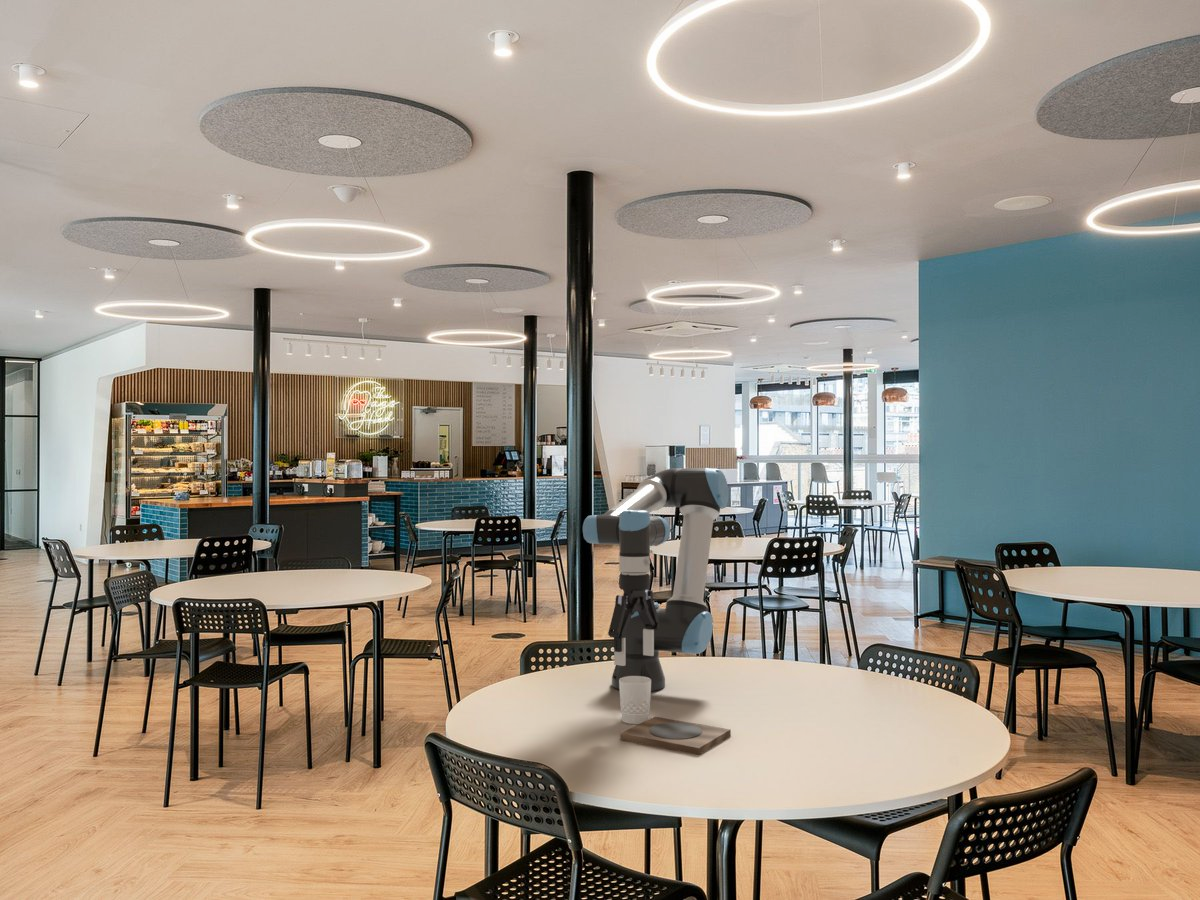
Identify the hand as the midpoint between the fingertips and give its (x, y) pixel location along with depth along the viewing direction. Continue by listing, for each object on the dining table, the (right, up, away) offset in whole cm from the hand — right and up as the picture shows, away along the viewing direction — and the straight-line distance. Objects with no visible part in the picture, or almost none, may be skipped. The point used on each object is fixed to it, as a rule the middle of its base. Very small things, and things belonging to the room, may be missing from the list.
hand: (634, 660), depth 219 cm
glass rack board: (+9, -15, -14) cm, 22 cm away
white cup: (0, -15, 0) cm, 15 cm away
